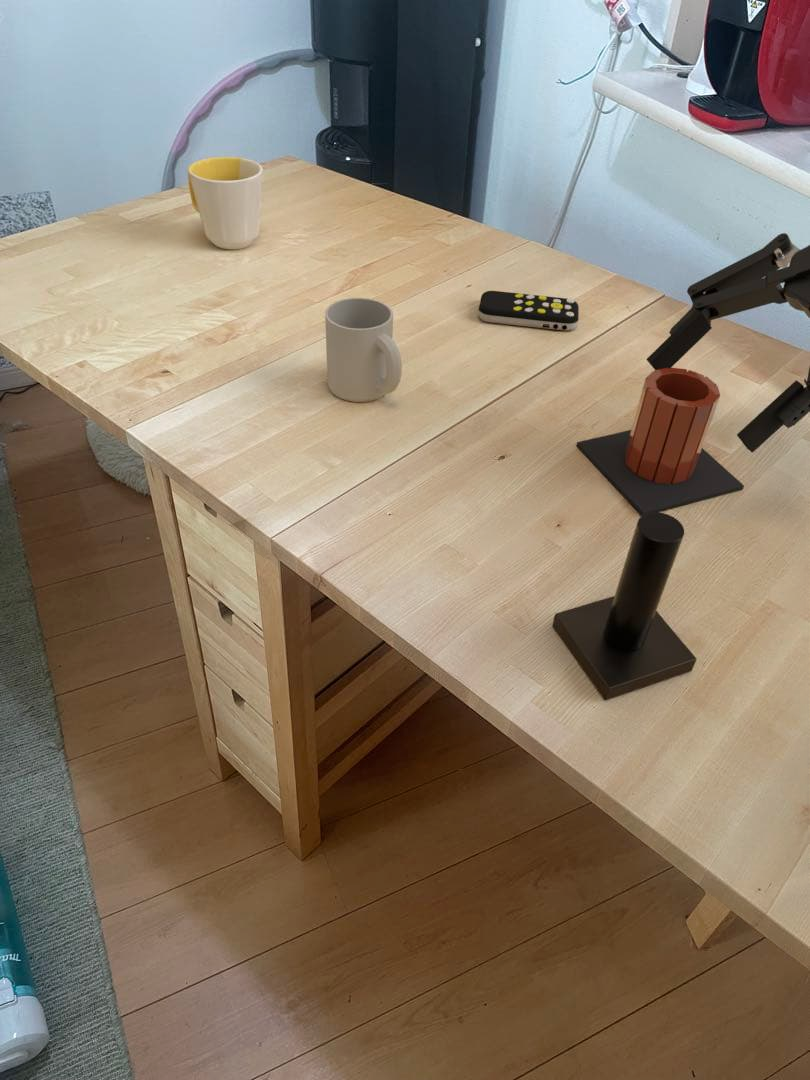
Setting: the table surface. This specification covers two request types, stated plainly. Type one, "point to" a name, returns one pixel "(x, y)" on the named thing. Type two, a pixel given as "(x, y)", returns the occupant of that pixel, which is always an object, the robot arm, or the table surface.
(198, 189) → the mug
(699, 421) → the sleeve ring
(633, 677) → the post stand
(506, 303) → the remote control
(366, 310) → the cup
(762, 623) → the table surface
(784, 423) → the robot arm
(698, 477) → the mat
